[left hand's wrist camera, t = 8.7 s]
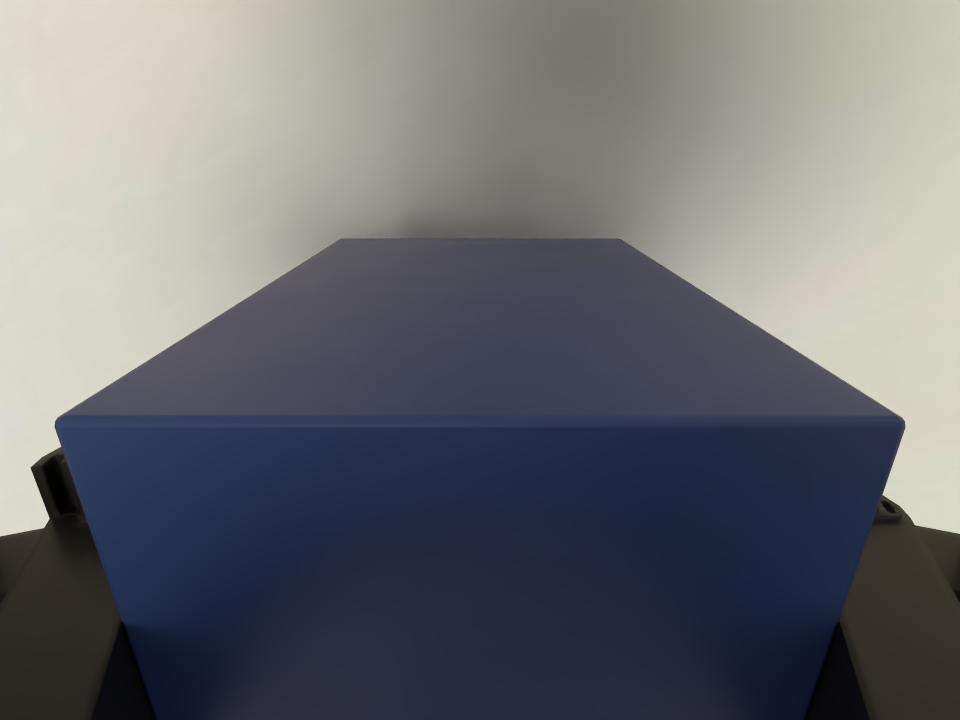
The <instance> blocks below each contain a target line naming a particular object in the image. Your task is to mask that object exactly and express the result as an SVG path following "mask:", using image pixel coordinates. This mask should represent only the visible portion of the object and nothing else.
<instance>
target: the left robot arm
mask: <svg viewBox="0 0 960 720" xmlns="http://www.w3.org/2000/svg"><path fill="white" fill-rule="evenodd" d="M31 470H32V473H33V475H34V478H35V481H36V483H37V486H38V489H39V491H40V494H41V497H42V499H43V502H44V504H45V507H46V510H47V512H48V515H49V518H50V519H49V521H48V523H47V524H46V526H45V528H43V529H37V530H32V531H27V532H22V533H16V534H11V535H6V536H1V537H0V720H155V718H154V715H153V712H152V709H151V706H150V703H149V700H148V697H147V694H146V691H145V688H144V686H143V683H142V680H141V677H140V674H139V671H138V668H137V665H136V662H135V659H134V656H133V653H132V651H131V648H130V645H129V642H128V639H127V636H126V633H125V630H124V627H123V624H122V621H121V619H120V616H119V613H118V610H117V607H116V604H115V601H114V598H113V595H112V592H111V589H110V586H109V584H108V581H107V578H106V575H105V572H104V569H103V566H102V563H101V560H100V557H99V554H98V551H97V549H96V546H95V543H94V540H93V537H92V534H91V531H90V528H89V525H88V522H87V519H86V517H85V514H84V511H83V508H82V505H81V502H80V499H79V496H78V493H77V490H76V487H75V484H74V482H73V479H72V476H71V473H70V470H69V467H68V464H67V461H66V458H65V455H64V452H63V449H62V447H60V448H58V449H57V450H55V451H53V452H51V453H49V454H47V455H45V456H44V457H42V458H41V459H40V460H39V461H38V462H36V463H35V464H34V465H33V466H32V467H31ZM805 720H960V534H957V533H952V532H947V531H941V530H936V529H931V528H926V527H920V526H915V525H914V523H913V522H912V520H911V518H910V517H909V516H908V515H907V514H906V513H905V512H904V510H903V509H902V508H901V507H900V506H899V505H897V504H895V503H894V502H892V501H891V500H889V499H888V498H886V497H885V496H883V495H882V497H881V500H880V503H879V506H878V509H877V512H876V514H875V517H874V520H873V523H872V526H871V529H870V532H869V535H868V538H867V541H866V544H865V547H864V549H863V552H862V555H861V558H860V561H859V564H858V567H857V570H856V573H855V576H854V579H853V581H852V584H851V587H850V590H849V593H848V596H847V599H846V602H845V605H844V608H843V611H842V614H841V616H840V619H839V622H838V625H837V628H836V631H835V634H834V637H833V640H832V643H831V646H830V649H829V651H828V654H827V657H826V660H825V663H824V666H823V669H822V672H821V675H820V678H819V681H818V684H817V686H816V689H815V692H814V695H813V698H812V701H811V704H810V707H809V710H808V713H807V716H806V718H805Z"/></svg>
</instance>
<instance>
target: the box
mask: <svg viewBox="0 0 960 720" xmlns="http://www.w3.org/2000/svg"><path fill="white" fill-rule="evenodd" d="M55 429H56V432H57V435H58V438H59V441H60V444H61V447H62V449H63V452H64V455H65V458H66V461H67V464H68V467H69V470H70V473H71V476H72V479H73V482H74V484H75V487H76V490H77V493H78V496H79V499H80V502H81V505H82V508H83V511H84V514H85V517H86V519H87V522H88V525H89V528H90V531H91V534H92V537H93V540H94V543H95V546H96V549H97V551H98V554H99V557H100V560H101V563H102V566H103V569H104V572H105V575H106V578H107V581H108V584H109V586H110V589H111V592H112V595H113V598H114V601H115V604H116V607H117V610H118V613H119V616H120V619H121V621H122V624H123V627H124V630H125V633H126V636H127V639H128V642H129V645H130V648H131V651H132V653H133V656H134V659H135V662H136V665H137V668H138V671H139V674H140V677H141V680H142V683H143V686H144V688H145V691H146V694H147V697H148V700H149V703H150V706H151V709H152V712H153V715H154V718H155V720H805V718H806V716H807V713H808V710H809V707H810V704H811V701H812V698H813V695H814V692H815V689H816V686H817V684H818V681H819V678H820V675H821V672H822V669H823V666H824V663H825V660H826V657H827V654H828V651H829V649H830V646H831V643H832V640H833V637H834V634H835V631H836V628H837V625H838V622H839V619H840V616H841V614H842V611H843V608H844V605H845V602H846V599H847V596H848V593H849V590H850V587H851V584H852V581H853V579H854V576H855V573H856V570H857V567H858V564H859V561H860V558H861V555H862V552H863V549H864V547H865V544H866V541H867V538H868V535H869V532H870V529H871V526H872V523H873V520H874V517H875V514H876V512H877V509H878V506H879V503H880V500H881V497H882V494H883V491H884V488H885V485H886V482H887V479H888V477H889V474H890V471H891V468H892V465H893V462H894V459H895V456H896V453H897V450H898V447H899V445H900V442H901V439H902V436H903V433H904V430H905V421H904V420H903V418H902V417H900V416H899V415H897V414H895V413H894V412H892V411H891V410H889V409H888V408H886V407H884V406H883V405H881V404H880V403H878V402H877V401H875V400H873V399H872V398H870V397H869V396H867V395H865V394H864V393H862V392H861V391H859V390H858V389H856V388H854V387H853V386H851V385H850V384H848V383H847V382H845V381H843V380H842V379H840V378H839V377H837V376H835V375H834V374H832V373H831V372H829V371H828V370H826V369H824V368H823V367H821V366H820V365H818V364H817V363H815V362H813V361H812V360H810V359H809V358H807V357H805V356H804V355H802V354H801V353H799V352H798V351H796V350H794V349H793V348H791V347H790V346H788V345H787V344H785V343H783V342H782V341H780V340H779V339H777V338H775V337H774V336H772V335H771V334H769V333H768V332H766V331H764V330H763V329H761V328H760V327H758V326H757V325H755V324H753V323H752V322H750V321H749V320H747V319H745V318H744V317H742V316H741V315H739V314H738V313H736V312H734V311H733V310H731V309H730V308H728V307H727V306H725V305H723V304H722V303H720V302H719V301H717V300H715V299H714V298H712V297H711V296H709V295H708V294H706V293H704V292H703V291H701V290H700V289H698V288H697V287H695V286H693V285H692V284H690V283H689V282H687V281H685V280H684V279H682V278H681V277H679V276H678V275H676V274H674V273H673V272H671V271H670V270H668V269H667V268H665V267H663V266H662V265H660V264H659V263H657V262H655V261H654V260H652V259H651V258H649V257H648V256H646V255H644V254H643V253H641V252H640V251H638V250H637V249H635V248H633V247H632V246H630V245H629V244H627V243H625V242H624V241H622V240H621V239H340V240H338V241H337V242H335V243H334V244H332V245H330V246H329V247H327V248H326V249H324V250H323V251H321V252H319V253H318V254H316V255H315V256H313V257H311V258H310V259H308V260H307V261H305V262H304V263H302V264H300V265H299V266H297V267H296V268H294V269H292V270H291V271H289V272H288V273H286V274H284V275H283V276H281V277H280V278H278V279H277V280H275V281H273V282H272V283H270V284H269V285H267V286H265V287H264V288H262V289H261V290H259V291H258V292H256V293H254V294H253V295H251V296H250V297H248V298H246V299H245V300H243V301H242V302H240V303H239V304H237V305H235V306H234V307H232V308H231V309H229V310H227V311H226V312H224V313H223V314H221V315H220V316H218V317H216V318H215V319H213V320H212V321H210V322H208V323H207V324H205V325H204V326H202V327H200V328H199V329H197V330H196V331H194V332H193V333H191V334H189V335H188V336H186V337H185V338H183V339H181V340H180V341H178V342H177V343H175V344H174V345H172V346H170V347H169V348H167V349H166V350H164V351H162V352H161V353H159V354H158V355H156V356H155V357H153V358H151V359H150V360H148V361H147V362H145V363H143V364H142V365H140V366H139V367H137V368H136V369H134V370H132V371H131V372H129V373H128V374H126V375H124V376H123V377H121V378H120V379H118V380H116V381H115V382H113V383H112V384H110V385H109V386H107V387H105V388H104V389H102V390H101V391H99V392H97V393H96V394H94V395H93V396H91V397H90V398H88V399H86V400H85V401H83V402H82V403H80V404H78V405H77V406H75V407H74V408H72V409H71V410H69V411H67V412H66V413H64V414H63V415H61V416H59V417H58V418H57V420H56V421H55Z"/></svg>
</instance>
